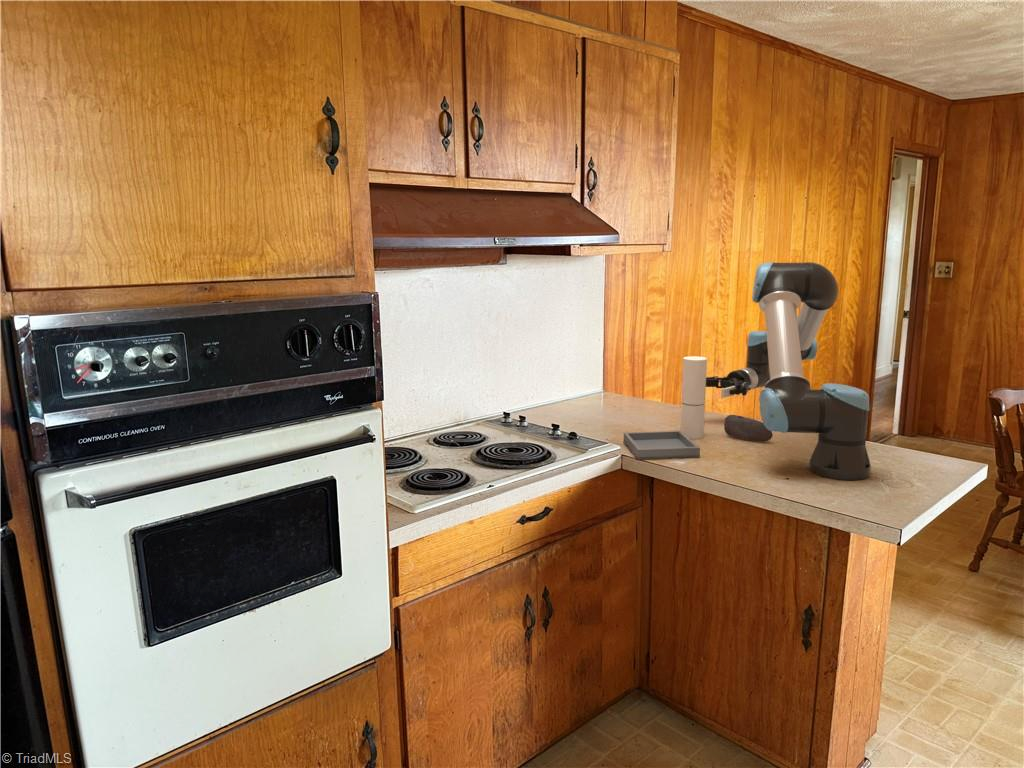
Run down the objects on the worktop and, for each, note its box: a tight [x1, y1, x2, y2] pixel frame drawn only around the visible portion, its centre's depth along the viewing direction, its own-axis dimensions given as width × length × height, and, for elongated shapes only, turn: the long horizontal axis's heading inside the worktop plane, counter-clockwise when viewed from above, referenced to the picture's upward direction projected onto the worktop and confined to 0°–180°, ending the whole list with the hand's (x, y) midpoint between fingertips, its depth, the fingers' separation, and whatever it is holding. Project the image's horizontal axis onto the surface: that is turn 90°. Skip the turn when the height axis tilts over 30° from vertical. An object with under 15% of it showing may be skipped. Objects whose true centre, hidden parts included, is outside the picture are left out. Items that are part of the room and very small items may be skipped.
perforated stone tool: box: [723, 414, 773, 443], centre depth 225 cm, size 15×5×7 cm, turn 46°
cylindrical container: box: [680, 355, 708, 440], centre depth 228 cm, size 7×7×25 cm
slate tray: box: [623, 430, 701, 461], centre depth 217 cm, size 18×18×3 cm
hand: (703, 390), depth 232 cm, fingers open, 13 cm apart
